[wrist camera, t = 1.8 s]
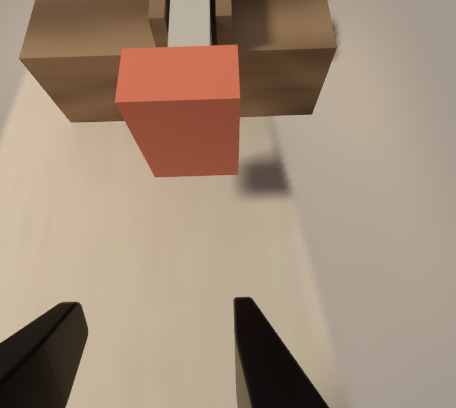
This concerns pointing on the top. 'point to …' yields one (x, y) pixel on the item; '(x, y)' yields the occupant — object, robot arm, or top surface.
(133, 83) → the red plunger
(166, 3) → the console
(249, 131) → the top surface
